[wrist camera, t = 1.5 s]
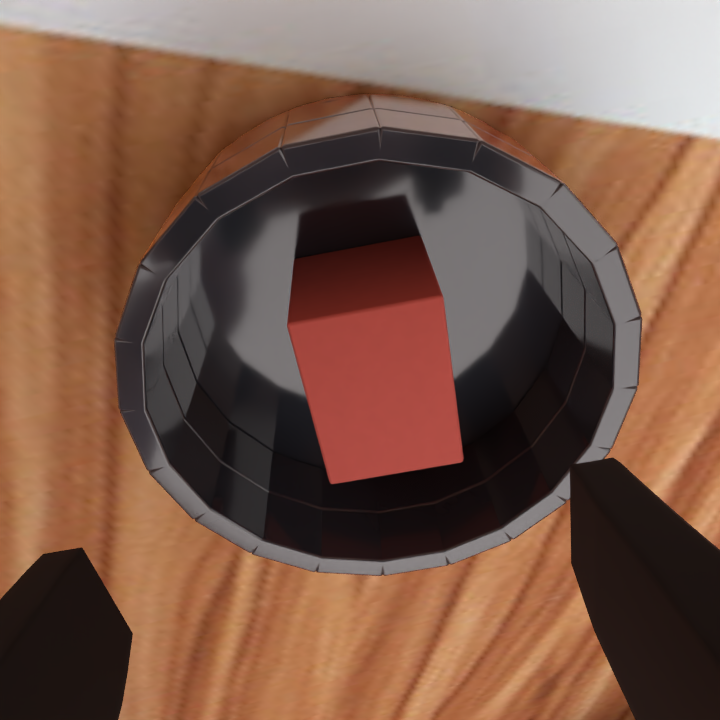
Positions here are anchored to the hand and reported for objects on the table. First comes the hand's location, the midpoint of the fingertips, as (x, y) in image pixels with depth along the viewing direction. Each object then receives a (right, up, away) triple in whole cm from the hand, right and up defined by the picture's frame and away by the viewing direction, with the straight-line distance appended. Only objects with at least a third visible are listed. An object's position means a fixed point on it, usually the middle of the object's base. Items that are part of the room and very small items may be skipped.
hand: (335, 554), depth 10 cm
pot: (+1, +4, +8) cm, 9 cm away
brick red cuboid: (+1, +4, +7) cm, 8 cm away
